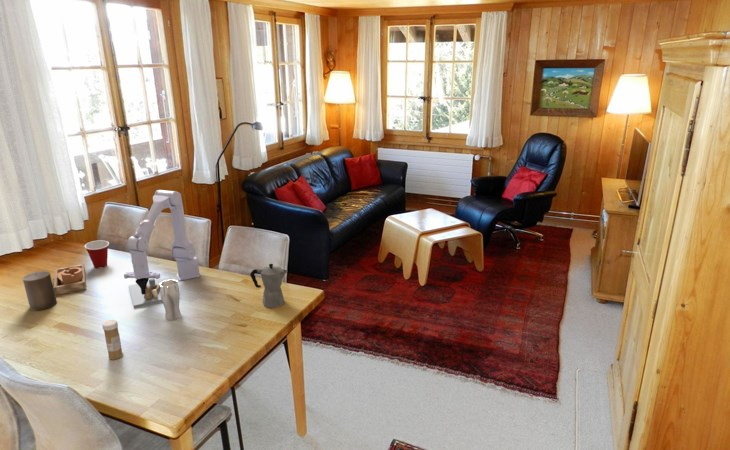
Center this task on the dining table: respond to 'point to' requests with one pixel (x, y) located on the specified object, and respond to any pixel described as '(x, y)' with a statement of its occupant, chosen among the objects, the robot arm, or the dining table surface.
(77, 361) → the dining table surface
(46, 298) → the pillar candle
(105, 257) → the plastic cup
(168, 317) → the beer glass
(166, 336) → the dining table surface
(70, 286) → the parts corral
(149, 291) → the brown wooden blocky piece
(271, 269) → the coffeepot
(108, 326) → the sprinkles bottle
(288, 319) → the dining table surface
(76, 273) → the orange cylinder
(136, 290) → the base board
